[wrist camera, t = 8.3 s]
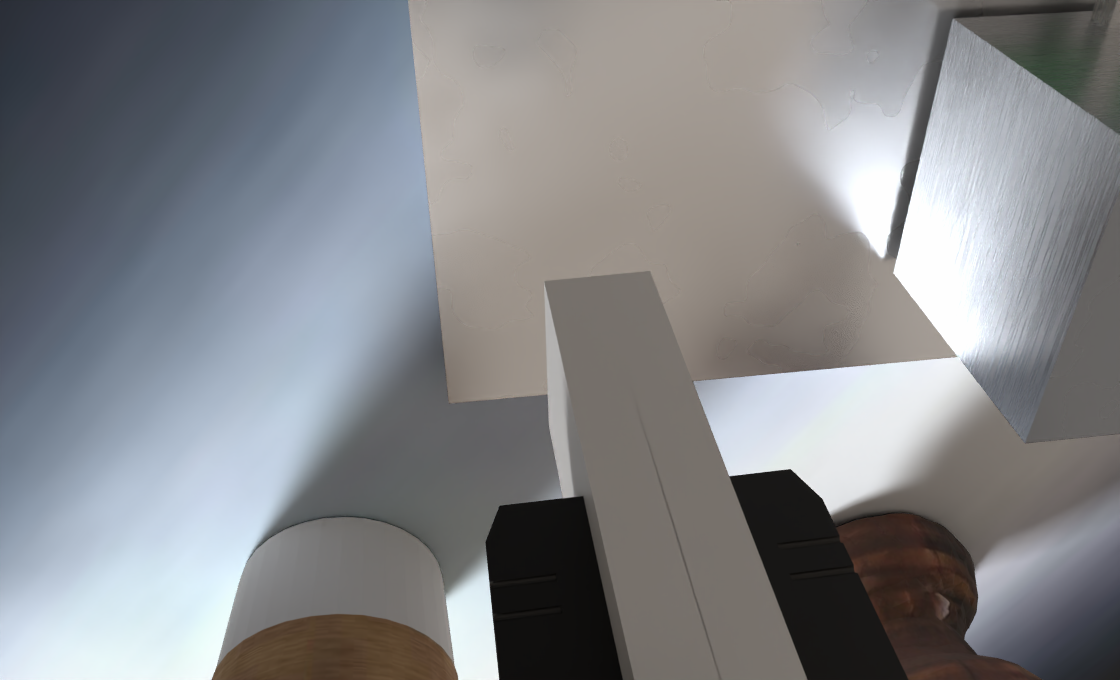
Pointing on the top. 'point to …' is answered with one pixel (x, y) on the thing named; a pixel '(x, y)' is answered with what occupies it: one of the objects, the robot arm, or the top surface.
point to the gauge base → (681, 172)
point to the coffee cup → (339, 607)
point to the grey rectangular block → (1026, 216)
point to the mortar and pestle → (923, 596)
